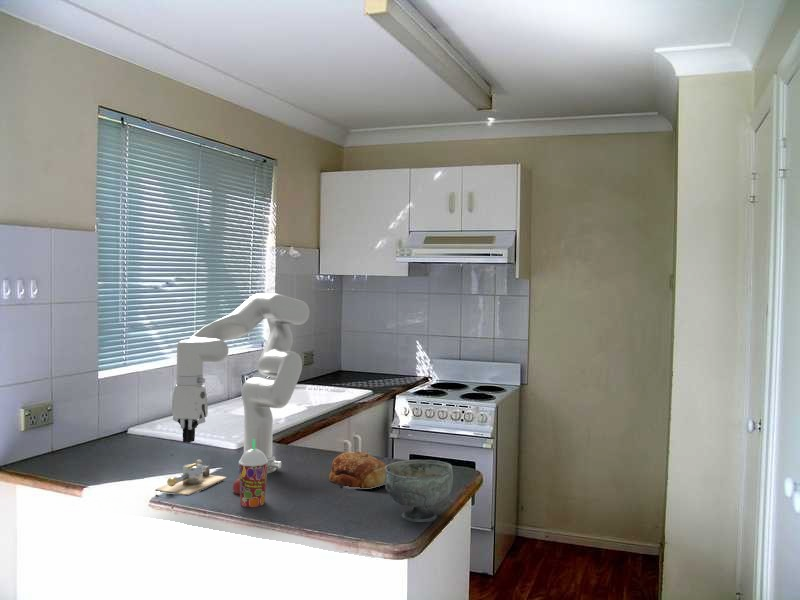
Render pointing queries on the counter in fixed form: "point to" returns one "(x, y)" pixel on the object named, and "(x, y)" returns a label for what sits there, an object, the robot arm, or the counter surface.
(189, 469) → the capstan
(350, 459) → the bread
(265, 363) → the robot arm
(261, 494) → the smoothie
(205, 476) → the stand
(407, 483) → the bowl
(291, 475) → the counter surface
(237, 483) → the fruit
